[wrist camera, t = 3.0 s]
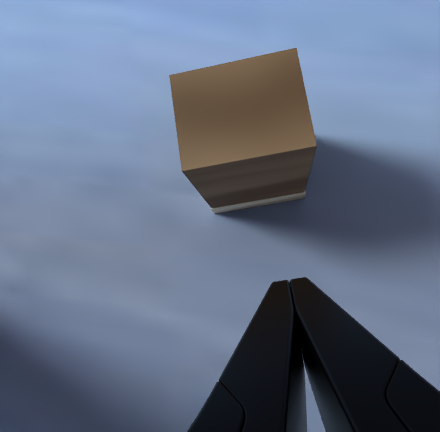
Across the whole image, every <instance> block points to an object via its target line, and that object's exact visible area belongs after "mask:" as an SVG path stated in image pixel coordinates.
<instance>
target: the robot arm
mask: <svg viewBox="0 0 440 432" xmlns="http://www.w3.org/2000/svg"><path fill="white" fill-rule="evenodd" d="M290 287H291V288H290ZM301 349H302V350H301ZM302 355H303V356H302ZM303 360H304V362H303ZM304 364H305V368H306V372H307V375H308V378H309V381H310V384H311V387H312V391H313V394H314V397H315V400H316V403H317V406H318V409H319V412H320V415H321V418H322V421H323V424H324V427H325V430H326V432H440V391H438V390H437V389H436V388H435V387H434V386H432V385H431V384H430V383H429V382H428V381H426V380H425V379H424V378H423V377H421V376H420V375H419V374H418V373H417V372H415V371H414V370H413V369H412V368H411V367H410V366H409V365H407V364H406V363H405V362H404V361H403V360H400V359H399V357H397V356H396V355H395V354H394V353H393V352H392V351H390V350H389V349H388V348H387V347H386V346H385V345H384V344H382V343H381V342H380V341H379V340H378V339H377V338H376V337H374V336H373V335H372V334H371V333H370V332H369V331H368V330H366V329H365V328H364V327H363V326H362V325H361V324H359V323H358V322H357V321H356V320H355V319H354V318H353V317H351V316H350V315H349V314H348V313H347V312H346V311H345V310H343V309H342V308H341V307H340V306H339V305H338V304H337V303H335V302H334V301H333V300H332V299H331V298H330V297H328V296H327V295H326V294H325V293H324V292H323V291H322V290H320V289H319V288H318V287H317V286H316V285H315V284H314V283H312V282H311V281H310V280H309V279H308V278H306V277H303V278H297V279H291V280H290V283H289V281H288V280H283V281H277V282H273V283H272V284H271V285H270V287H269V289H268V291H267V293H266V294H265V296H264V298H263V300H262V302H261V304H260V305H259V307H258V309H257V311H256V313H255V315H254V316H253V318H252V320H251V322H250V324H249V325H248V327H247V329H246V331H245V333H244V335H243V336H242V338H241V340H240V342H239V344H238V346H237V347H236V349H235V351H234V353H233V355H232V357H231V358H230V360H229V362H228V364H227V366H226V367H225V369H224V371H223V373H222V375H221V377H220V378H219V382H217V383H216V385H215V387H214V388H213V390H212V392H211V394H210V396H209V397H208V399H207V401H206V403H205V404H204V406H203V408H202V409H201V411H200V413H199V414H198V416H197V418H196V419H195V421H194V422H193V423H192V425H191V426H190V428H189V429H188V431H187V432H307V417H306V392H305V372H304Z"/></svg>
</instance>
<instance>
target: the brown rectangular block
mask: <svg viewBox="0 0 440 432" xmlns="http://www.w3.org/2000/svg"><path fill="white" fill-rule="evenodd" d="M169 76H170V83H171V91H172V99H173V106H174V114H175V122H176V129H177V137H178V145H179V152H180V160H181V168H182V172H183V173H184V174H185V176H186V177H187V178H188V179H189V181H190V182H191V183H192V184H193V186H194V187H195V188H196V189H197V191H198V192H199V193H200V194H201V196H202V197H203V198H204V199H205V201H206V202H207V203H208V204H209V205H210V207H211V210H212V211H213V212H214V214H216V213H222V212H227V211H233V210H239V209H245V208H251V207H256V206H262V205H268V204H274V203H279V202H285V201H291V200H297V199H302V198H305V194H306V192H305V189H306V185H307V181H308V177H309V174H310V170H311V166H312V162H313V158H314V155H315V151H316V147H317V145H316V140H315V135H314V130H313V125H312V121H311V116H310V111H309V106H308V101H307V96H306V92H305V87H304V82H303V77H302V72H301V68H300V63H299V58H298V53H297V48H293V49H289V50H284V51H279V52H275V53H270V54H266V55H261V56H256V57H252V58H247V59H243V60H238V61H233V62H229V63H224V64H219V65H215V66H210V67H206V68H201V69H196V70H192V71H187V72H183V73H178V74H173V75H169Z"/></svg>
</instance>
